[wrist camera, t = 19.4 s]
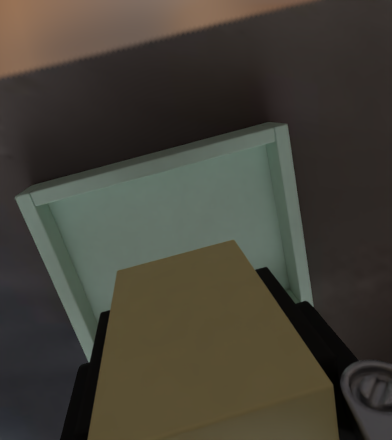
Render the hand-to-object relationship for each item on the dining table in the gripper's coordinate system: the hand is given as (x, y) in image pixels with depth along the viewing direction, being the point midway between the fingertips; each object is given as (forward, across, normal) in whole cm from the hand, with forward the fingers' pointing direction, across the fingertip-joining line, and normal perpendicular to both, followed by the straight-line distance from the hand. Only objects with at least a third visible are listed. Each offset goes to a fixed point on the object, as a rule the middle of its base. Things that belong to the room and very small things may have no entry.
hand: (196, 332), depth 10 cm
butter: (0, 0, 0) cm, 0 cm away
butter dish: (+7, 0, 0) cm, 7 cm away
